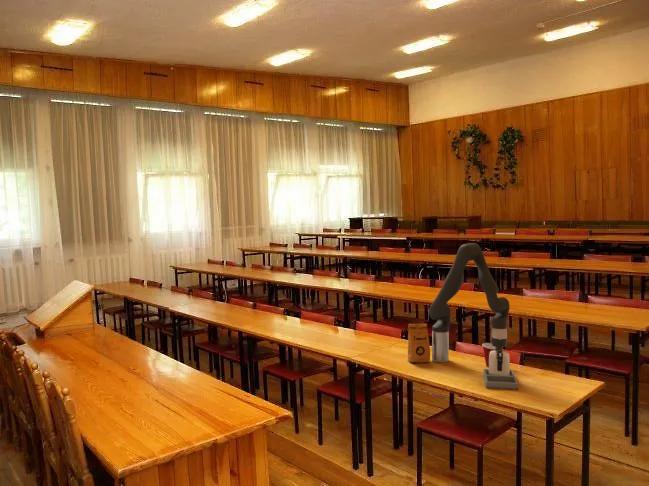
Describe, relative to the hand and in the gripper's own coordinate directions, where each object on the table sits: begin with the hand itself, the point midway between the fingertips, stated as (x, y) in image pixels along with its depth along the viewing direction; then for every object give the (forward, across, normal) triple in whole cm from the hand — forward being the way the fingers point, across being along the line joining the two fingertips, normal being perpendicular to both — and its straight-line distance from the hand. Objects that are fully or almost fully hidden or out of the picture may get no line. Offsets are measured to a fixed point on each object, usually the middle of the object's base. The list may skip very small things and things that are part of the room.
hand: (499, 368), depth 280 cm
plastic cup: (+5, -20, -2) cm, 21 cm away
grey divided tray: (+5, +5, 0) cm, 7 cm away
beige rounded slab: (+3, 0, 0) cm, 3 cm away
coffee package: (+5, -24, -42) cm, 48 cm away
